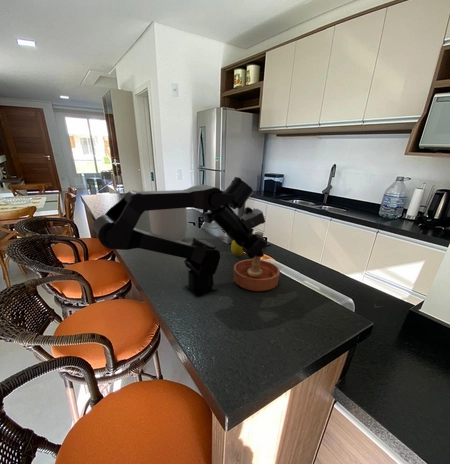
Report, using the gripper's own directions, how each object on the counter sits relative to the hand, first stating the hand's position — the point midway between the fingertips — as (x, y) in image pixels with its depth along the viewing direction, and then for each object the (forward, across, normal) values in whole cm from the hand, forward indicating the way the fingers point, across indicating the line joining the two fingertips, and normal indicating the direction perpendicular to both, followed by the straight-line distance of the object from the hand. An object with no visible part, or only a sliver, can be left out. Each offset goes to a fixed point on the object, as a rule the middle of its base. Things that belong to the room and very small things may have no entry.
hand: (260, 254), depth 78 cm
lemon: (+6, +18, +7) cm, 20 cm away
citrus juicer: (-10, +39, +23) cm, 46 cm away
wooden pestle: (+4, 0, +6) cm, 7 cm away
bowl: (+5, -2, +7) cm, 9 cm away
